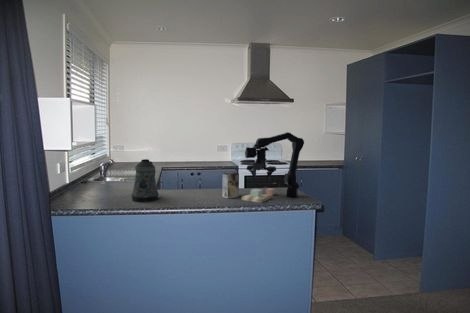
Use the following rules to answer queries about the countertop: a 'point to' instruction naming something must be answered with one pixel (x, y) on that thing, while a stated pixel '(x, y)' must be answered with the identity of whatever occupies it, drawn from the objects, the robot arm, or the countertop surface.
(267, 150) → the robot arm
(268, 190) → the terracotta cube
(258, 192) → the sage block
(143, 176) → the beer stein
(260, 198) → the birch plinth
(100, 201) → the countertop surface
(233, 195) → the coffee box
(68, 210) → the countertop surface
